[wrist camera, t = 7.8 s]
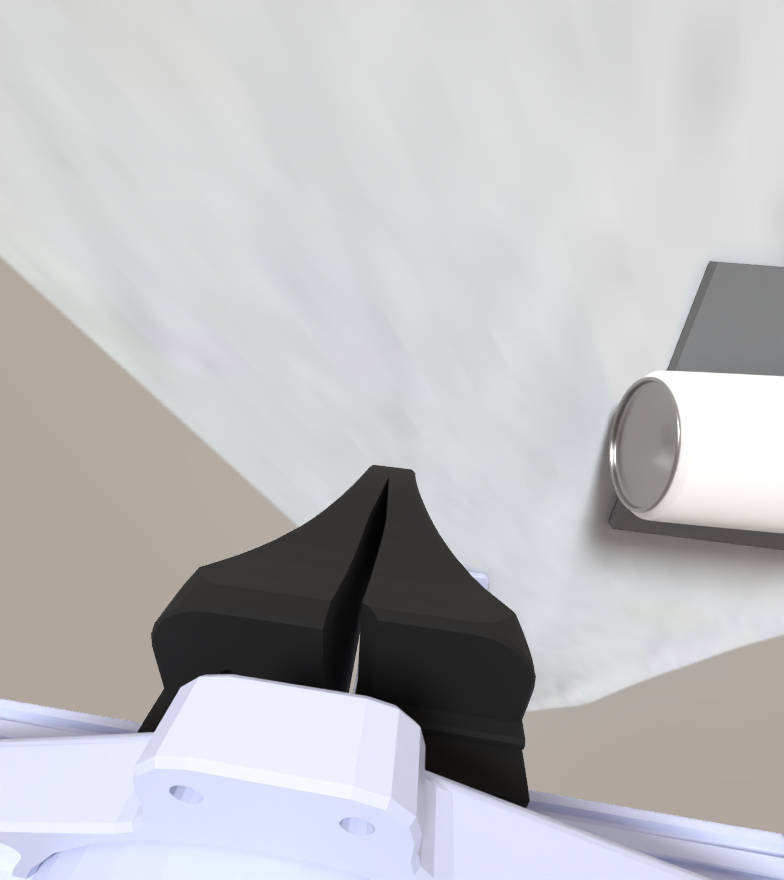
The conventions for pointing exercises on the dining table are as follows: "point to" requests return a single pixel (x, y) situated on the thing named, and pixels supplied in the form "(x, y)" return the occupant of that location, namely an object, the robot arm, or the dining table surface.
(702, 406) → the can
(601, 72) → the dining table surface
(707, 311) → the mat
